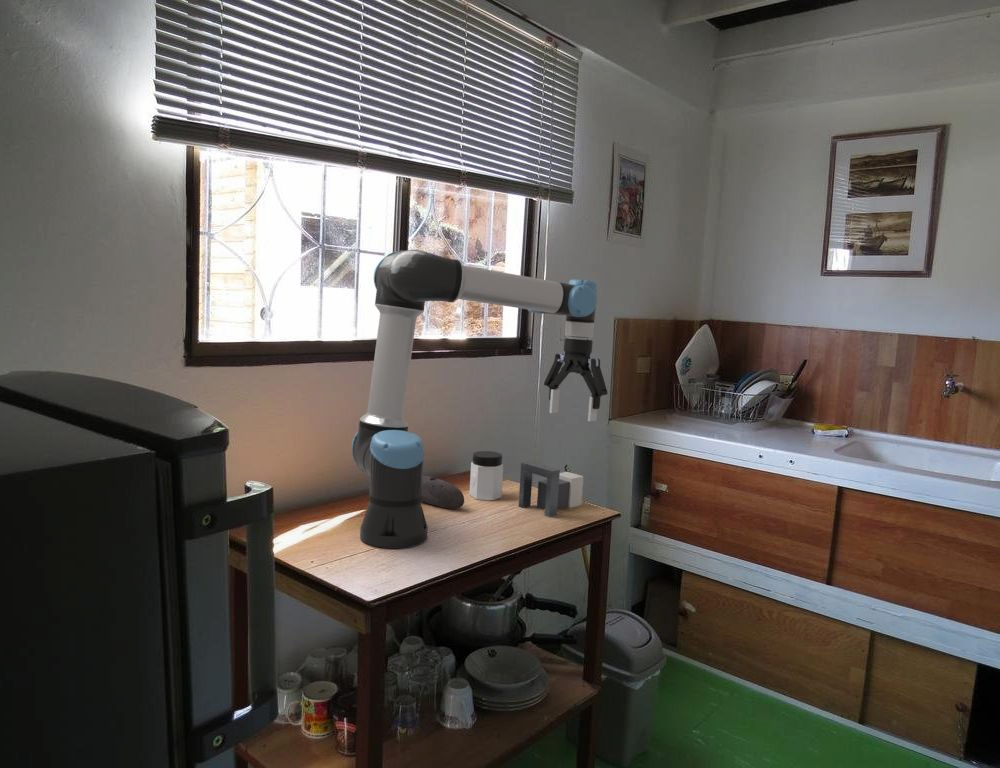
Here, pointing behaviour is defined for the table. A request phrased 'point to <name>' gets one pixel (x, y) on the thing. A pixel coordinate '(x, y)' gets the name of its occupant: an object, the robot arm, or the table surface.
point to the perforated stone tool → (441, 493)
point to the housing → (551, 490)
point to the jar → (486, 475)
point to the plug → (563, 491)
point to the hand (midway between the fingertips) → (572, 416)
